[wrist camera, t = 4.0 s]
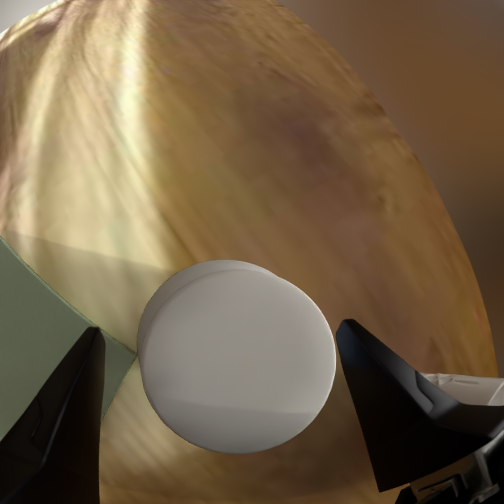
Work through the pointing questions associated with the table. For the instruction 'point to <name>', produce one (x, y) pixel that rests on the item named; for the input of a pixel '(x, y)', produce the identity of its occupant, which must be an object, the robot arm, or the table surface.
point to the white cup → (470, 388)
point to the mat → (41, 339)
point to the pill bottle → (234, 357)
